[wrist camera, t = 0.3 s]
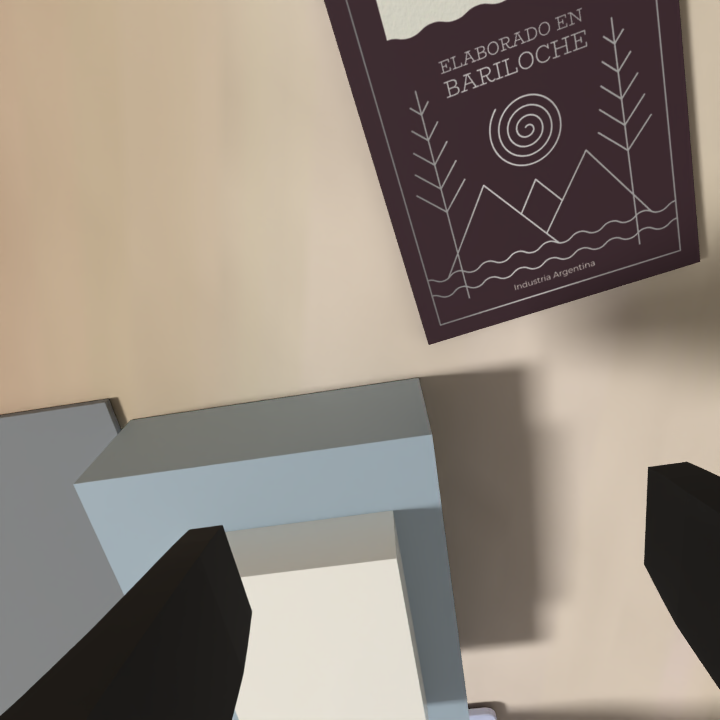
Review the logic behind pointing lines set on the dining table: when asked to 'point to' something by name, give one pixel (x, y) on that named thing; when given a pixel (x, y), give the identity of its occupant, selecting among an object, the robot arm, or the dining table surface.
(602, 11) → the chocolate bar
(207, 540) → the robot arm
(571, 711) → the dining table surface
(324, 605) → the tile
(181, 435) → the plate
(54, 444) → the mat
